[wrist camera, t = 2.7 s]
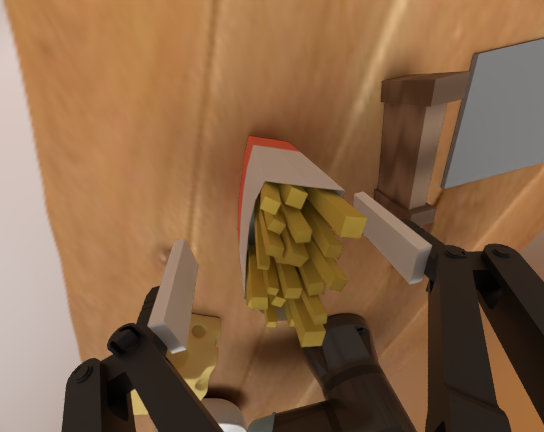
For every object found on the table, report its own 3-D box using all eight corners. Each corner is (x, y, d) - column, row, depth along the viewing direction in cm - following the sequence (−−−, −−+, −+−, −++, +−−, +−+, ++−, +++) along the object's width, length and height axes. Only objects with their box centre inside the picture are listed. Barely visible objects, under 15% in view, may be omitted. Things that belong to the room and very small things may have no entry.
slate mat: (538, 161, 33) (543, 162, 32) (440, 187, 32) (444, 189, 32) (603, 24, 25) (611, 23, 24) (473, 54, 24) (479, 53, 23)
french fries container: (233, 218, 28) (242, 370, 13) (243, 130, 23) (276, 213, 8) (267, 220, 30) (313, 362, 14) (284, 137, 24) (382, 221, 9)
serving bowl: (160, 431, 56) (153, 472, 50) (147, 393, 46) (136, 438, 40) (242, 416, 60) (244, 451, 55) (247, 378, 50) (250, 416, 44)
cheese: (221, 316, 38) (220, 382, 29) (196, 351, 42) (189, 419, 33) (158, 303, 34) (136, 376, 25) (137, 343, 37) (111, 419, 29)
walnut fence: (393, 197, 31) (432, 222, 25) (373, 202, 31) (408, 229, 25) (408, 75, 23) (470, 70, 18) (382, 81, 23) (435, 79, 17)
